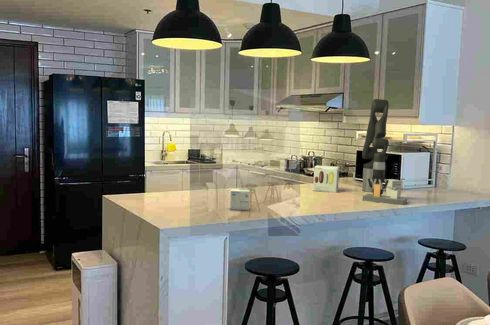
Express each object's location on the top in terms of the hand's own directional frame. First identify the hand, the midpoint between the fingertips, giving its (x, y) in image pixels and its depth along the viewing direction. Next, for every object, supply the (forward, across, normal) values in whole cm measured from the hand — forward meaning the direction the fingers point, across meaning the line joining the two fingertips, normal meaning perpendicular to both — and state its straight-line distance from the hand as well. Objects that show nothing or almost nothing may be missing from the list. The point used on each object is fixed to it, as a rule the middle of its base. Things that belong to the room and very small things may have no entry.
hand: (377, 194), depth 319 cm
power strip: (+4, -5, 0) cm, 7 cm away
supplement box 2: (+4, -6, -19) cm, 20 cm away
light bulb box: (+4, +56, +84) cm, 101 cm away
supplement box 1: (+5, +43, -19) cm, 47 cm away
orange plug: (+3, 0, 0) cm, 3 cm away
